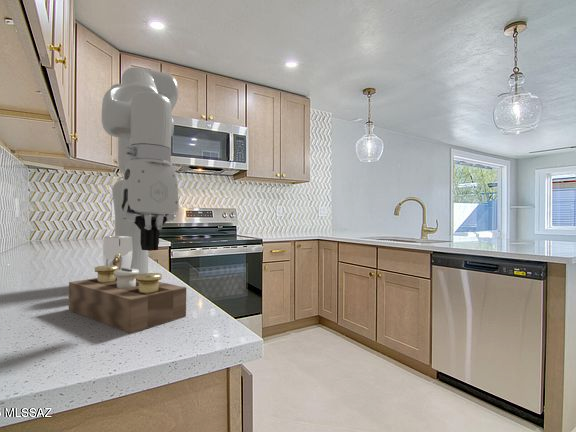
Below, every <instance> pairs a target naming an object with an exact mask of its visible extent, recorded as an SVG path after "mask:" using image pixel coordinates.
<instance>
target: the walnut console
mask: <svg viewBox="0 0 576 432" xmlns="http://www.w3.org/2000/svg"><path fill="white" fill-rule="evenodd" d="M68 310H69V311H71V312H74V313H75V314H79V315H81V316H85V317H87V318H89V319H92V320H95V321H97V322H100V323H103V324H105V325H108V326H110V327H112V328H116V329H118V330H121V331H123V332H126V333H128V334H133V333H137V332H140V331H143V330H146V329H149V328H153V327H156V326H160V325H162V324H165V323H166V324H167V323H169V322H172V321H176V320H178V319H182V318H184V317H187V287H186V286H181V285H176V284H172V283H171V284H170V283H168V282H161V281H159V285H158V292H156V293H151V294H147V295H142V294H139V281H136V286H134V287H129V288H124V289H118V288H117V276H116V281H114V282H108V283H102V284H99V283H98V277H95V278H89V279H88V278H87V279H81V280H76V281H69V282H68Z"/></svg>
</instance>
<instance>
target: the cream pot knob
mask: <svg viewBox="0 0 576 432" xmlns="http://www.w3.org/2000/svg"><path fill="white" fill-rule="evenodd" d="M138 274H139V270H138V269H127V268H121V270H116V271H114V276H117V288H118V289H124V288H129V287H134V286H136V275H138Z"/></svg>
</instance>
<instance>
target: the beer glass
mask: <svg viewBox="0 0 576 432" xmlns="http://www.w3.org/2000/svg"><path fill="white" fill-rule="evenodd" d="M132 254H133V247H132V236H115V235H108V236H104V237H103V245H102V260H103V266H105V265H117V266H119V270H121V268H127V269H130V268H131V262H132Z"/></svg>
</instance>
